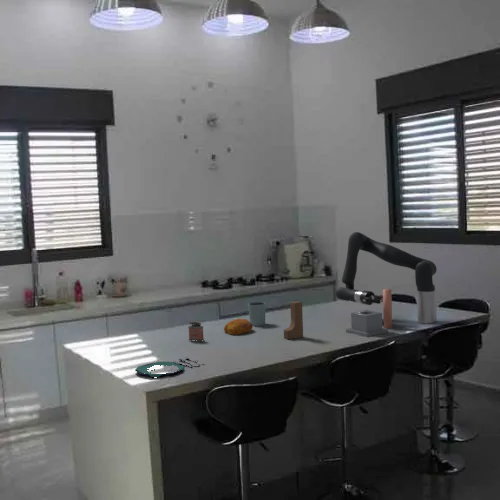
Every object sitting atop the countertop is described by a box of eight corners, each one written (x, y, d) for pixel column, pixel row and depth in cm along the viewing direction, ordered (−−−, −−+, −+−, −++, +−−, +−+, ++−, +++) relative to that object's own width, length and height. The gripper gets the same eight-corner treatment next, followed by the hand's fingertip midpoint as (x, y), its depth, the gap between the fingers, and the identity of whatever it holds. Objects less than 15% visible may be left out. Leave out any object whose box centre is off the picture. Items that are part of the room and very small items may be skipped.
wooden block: (288, 339, 317) (287, 304, 316) (283, 338, 321) (282, 302, 319) (303, 337, 321) (302, 302, 320) (298, 335, 325) (297, 300, 324)
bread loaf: (257, 335, 341) (258, 320, 341) (236, 336, 330) (238, 321, 330) (238, 331, 351) (239, 316, 351) (217, 332, 340) (218, 317, 340)
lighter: (205, 340, 324) (204, 320, 323) (202, 341, 321) (201, 322, 320) (190, 339, 327) (189, 320, 326) (187, 341, 324) (186, 321, 323)
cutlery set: (127, 372, 270) (127, 367, 270) (185, 359, 290) (184, 354, 289) (152, 382, 255) (152, 376, 255) (211, 368, 275) (211, 362, 275)
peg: (387, 325, 339) (387, 288, 337) (394, 327, 336) (393, 289, 334) (381, 327, 337) (381, 289, 335) (387, 328, 333) (387, 290, 331)
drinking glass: (246, 325, 355) (245, 304, 354) (252, 322, 364) (251, 301, 363) (263, 326, 351) (262, 305, 350) (269, 322, 360) (268, 302, 359)
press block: (367, 327, 337) (367, 309, 336) (388, 332, 324) (387, 312, 324) (346, 332, 329) (345, 312, 328) (366, 336, 316) (365, 317, 315)
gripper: (354, 292, 345) (375, 295, 332) (373, 289, 353) (395, 292, 339) (355, 305, 346) (376, 309, 332) (374, 302, 354) (395, 305, 340)
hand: (385, 300), depth 336 cm, fingers open, 8 cm apart
